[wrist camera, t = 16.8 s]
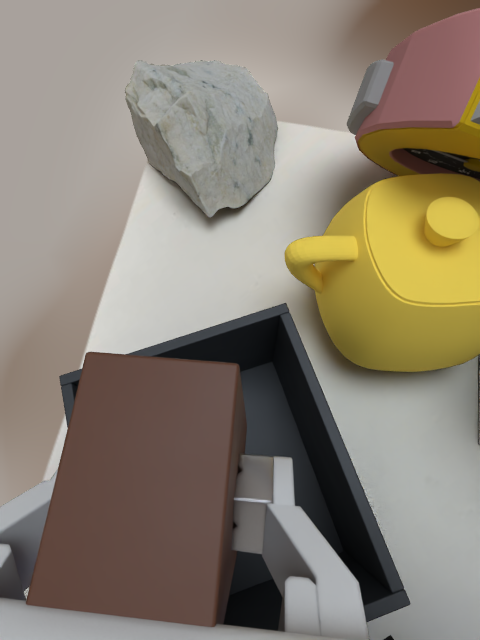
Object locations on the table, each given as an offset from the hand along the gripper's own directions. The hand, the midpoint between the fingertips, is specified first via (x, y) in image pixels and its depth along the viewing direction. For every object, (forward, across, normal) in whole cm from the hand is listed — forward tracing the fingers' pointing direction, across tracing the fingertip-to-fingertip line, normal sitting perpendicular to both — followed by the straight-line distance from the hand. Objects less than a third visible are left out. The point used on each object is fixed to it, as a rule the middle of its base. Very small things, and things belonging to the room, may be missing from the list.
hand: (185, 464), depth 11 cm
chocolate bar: (+3, 0, +4) cm, 5 cm away
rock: (+36, +5, -8) cm, 37 cm away
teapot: (+24, -13, +4) cm, 27 cm away
